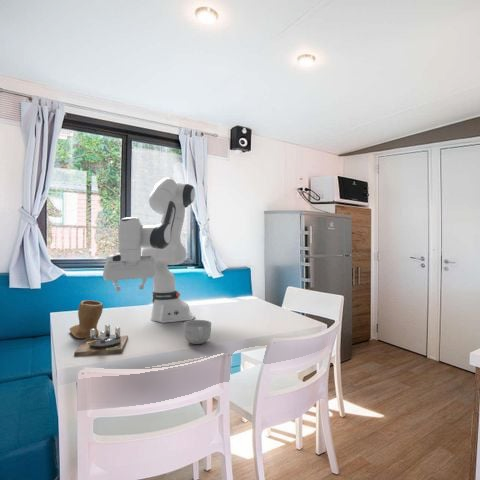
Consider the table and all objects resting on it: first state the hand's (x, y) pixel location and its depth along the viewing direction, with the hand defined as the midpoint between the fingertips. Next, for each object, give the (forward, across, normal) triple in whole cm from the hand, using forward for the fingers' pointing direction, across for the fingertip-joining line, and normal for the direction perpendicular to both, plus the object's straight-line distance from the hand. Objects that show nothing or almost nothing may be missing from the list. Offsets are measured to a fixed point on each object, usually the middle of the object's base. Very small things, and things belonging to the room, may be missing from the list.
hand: (129, 290), depth 135 cm
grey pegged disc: (+19, +10, +4) cm, 22 cm away
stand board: (+21, +11, +3) cm, 24 cm away
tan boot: (+21, +14, -18) cm, 30 cm away
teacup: (+21, -21, +19) cm, 35 cm away
